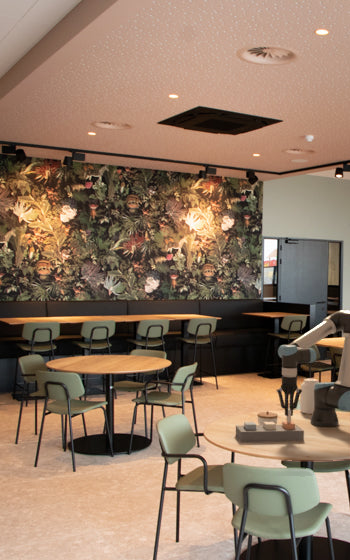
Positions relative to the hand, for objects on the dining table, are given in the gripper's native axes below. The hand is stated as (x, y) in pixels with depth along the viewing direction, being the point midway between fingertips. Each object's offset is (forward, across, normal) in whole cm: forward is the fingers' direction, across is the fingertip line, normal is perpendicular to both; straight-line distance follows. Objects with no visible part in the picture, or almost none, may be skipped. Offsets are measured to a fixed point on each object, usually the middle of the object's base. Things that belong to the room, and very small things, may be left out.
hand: (288, 422), depth 297 cm
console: (+8, +10, 0) cm, 13 cm away
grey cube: (+5, +20, 0) cm, 21 cm away
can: (+8, -31, -54) cm, 63 cm away
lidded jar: (+8, +6, -18) cm, 21 cm away
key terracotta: (+5, 0, 0) cm, 5 cm away
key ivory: (+5, +10, 0) cm, 11 cm away
